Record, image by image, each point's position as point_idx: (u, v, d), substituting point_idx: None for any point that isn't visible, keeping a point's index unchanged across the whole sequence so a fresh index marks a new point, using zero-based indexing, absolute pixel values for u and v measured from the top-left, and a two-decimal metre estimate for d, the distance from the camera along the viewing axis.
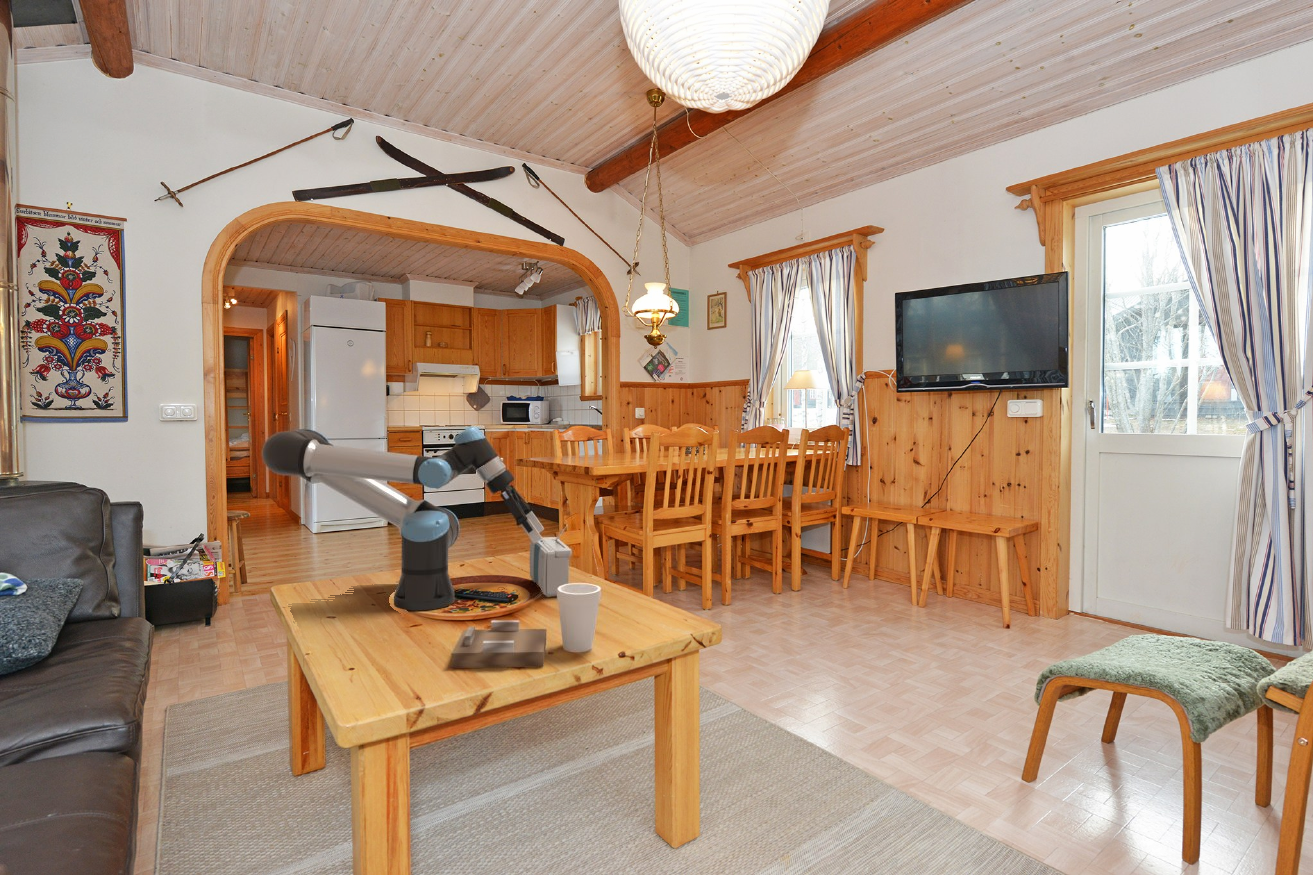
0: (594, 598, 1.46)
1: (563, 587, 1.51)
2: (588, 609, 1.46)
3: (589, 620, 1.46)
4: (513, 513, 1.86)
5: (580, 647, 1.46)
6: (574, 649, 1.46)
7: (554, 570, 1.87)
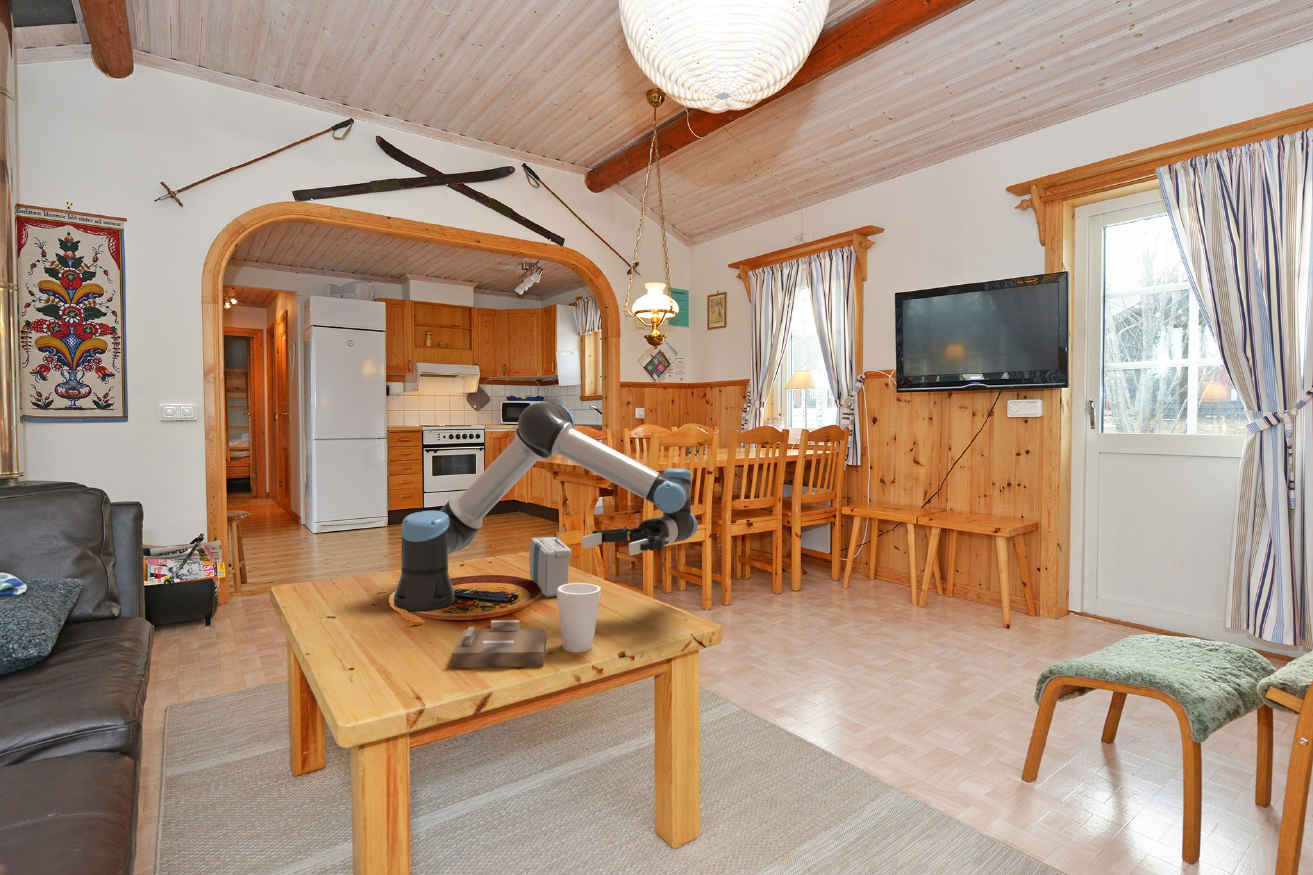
0: (594, 598, 1.46)
1: (563, 587, 1.51)
2: (588, 609, 1.46)
3: (589, 620, 1.46)
4: (663, 539, 1.61)
5: (580, 647, 1.46)
6: (574, 649, 1.46)
7: (554, 570, 1.87)
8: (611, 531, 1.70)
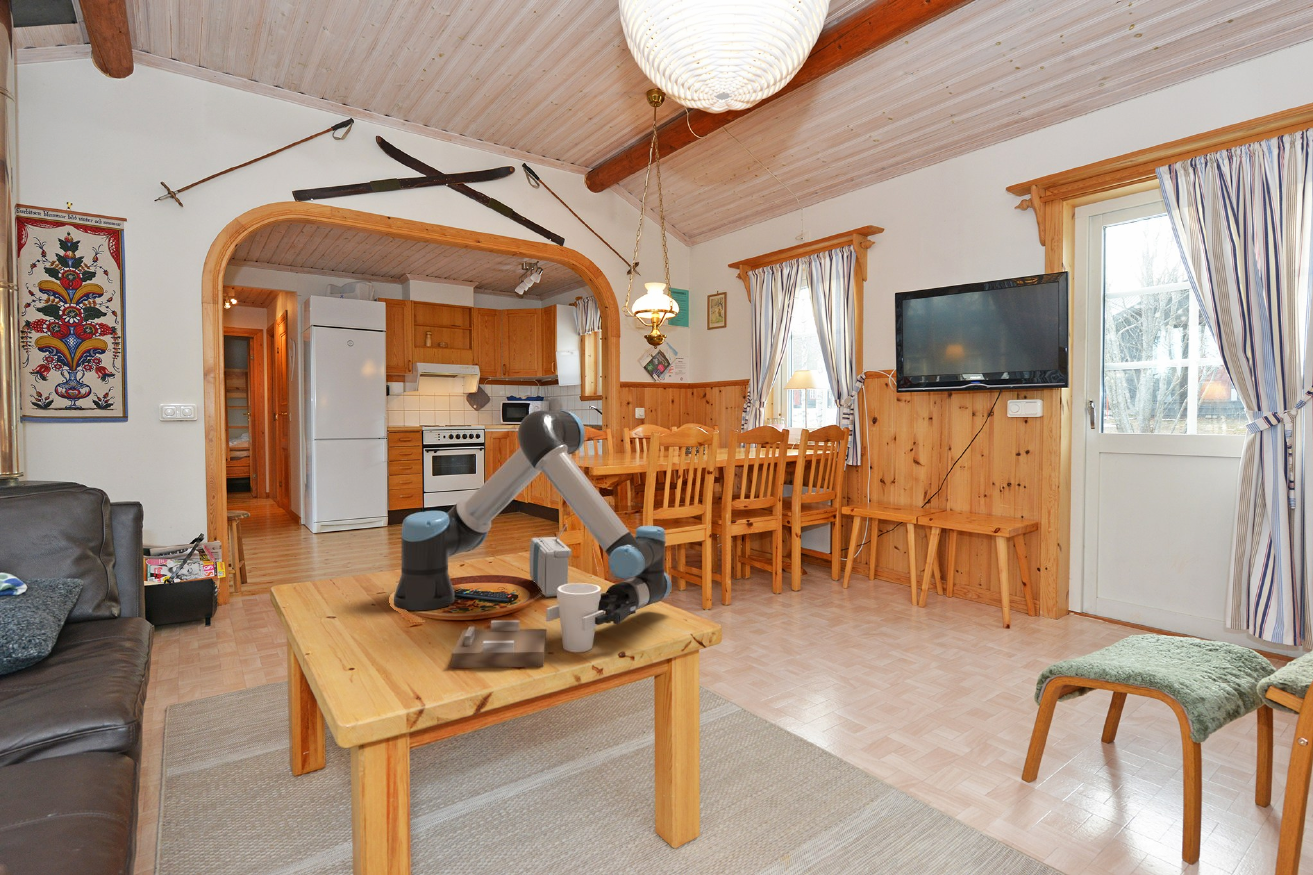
0: (594, 598, 1.46)
1: (563, 587, 1.51)
2: (588, 609, 1.46)
3: None
4: (623, 611, 1.50)
5: (580, 647, 1.46)
6: (574, 649, 1.46)
7: (553, 570, 1.87)
8: None
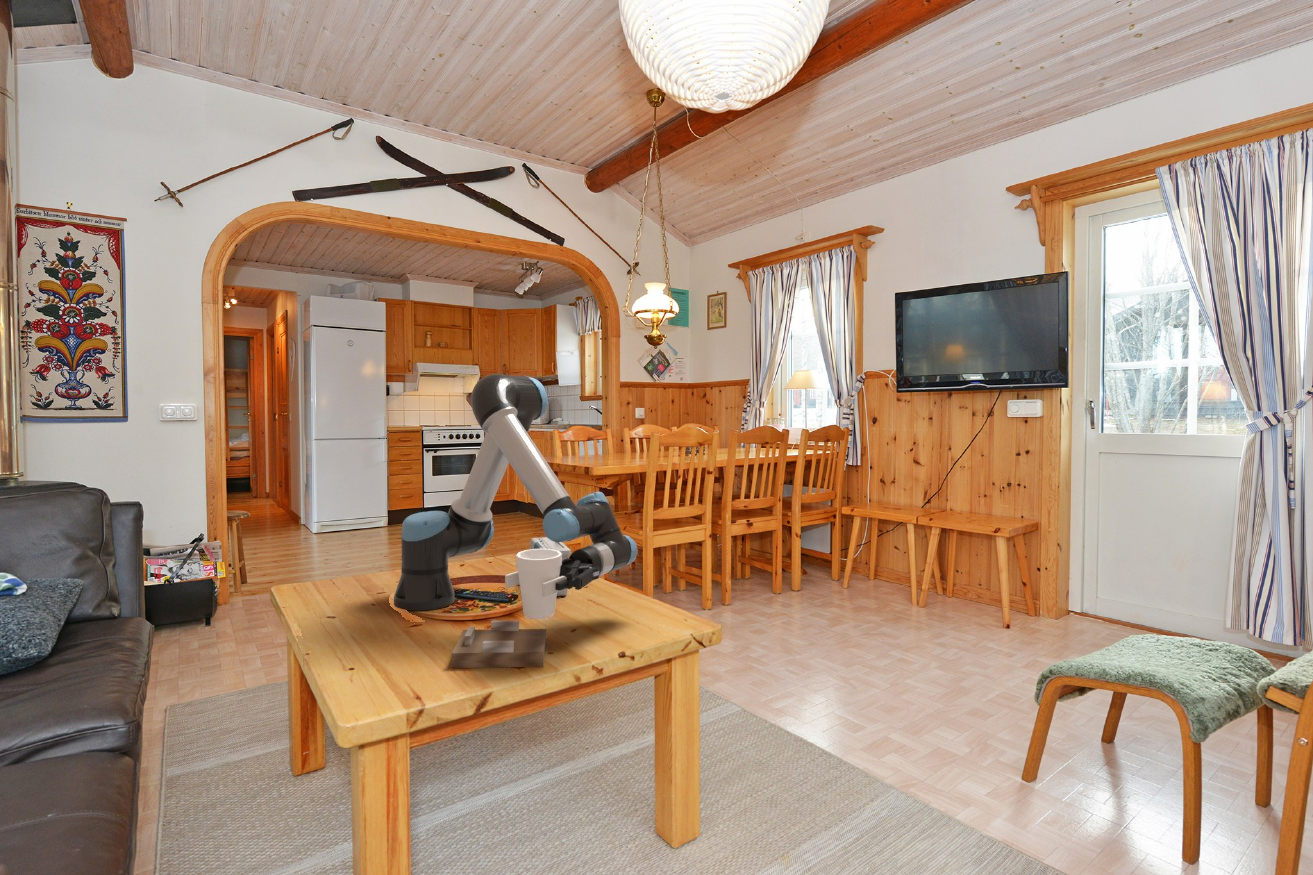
0: (554, 563, 1.41)
1: (523, 553, 1.45)
2: (549, 575, 1.41)
3: None
4: (585, 576, 1.45)
5: (541, 614, 1.42)
6: (535, 616, 1.42)
7: None
8: None
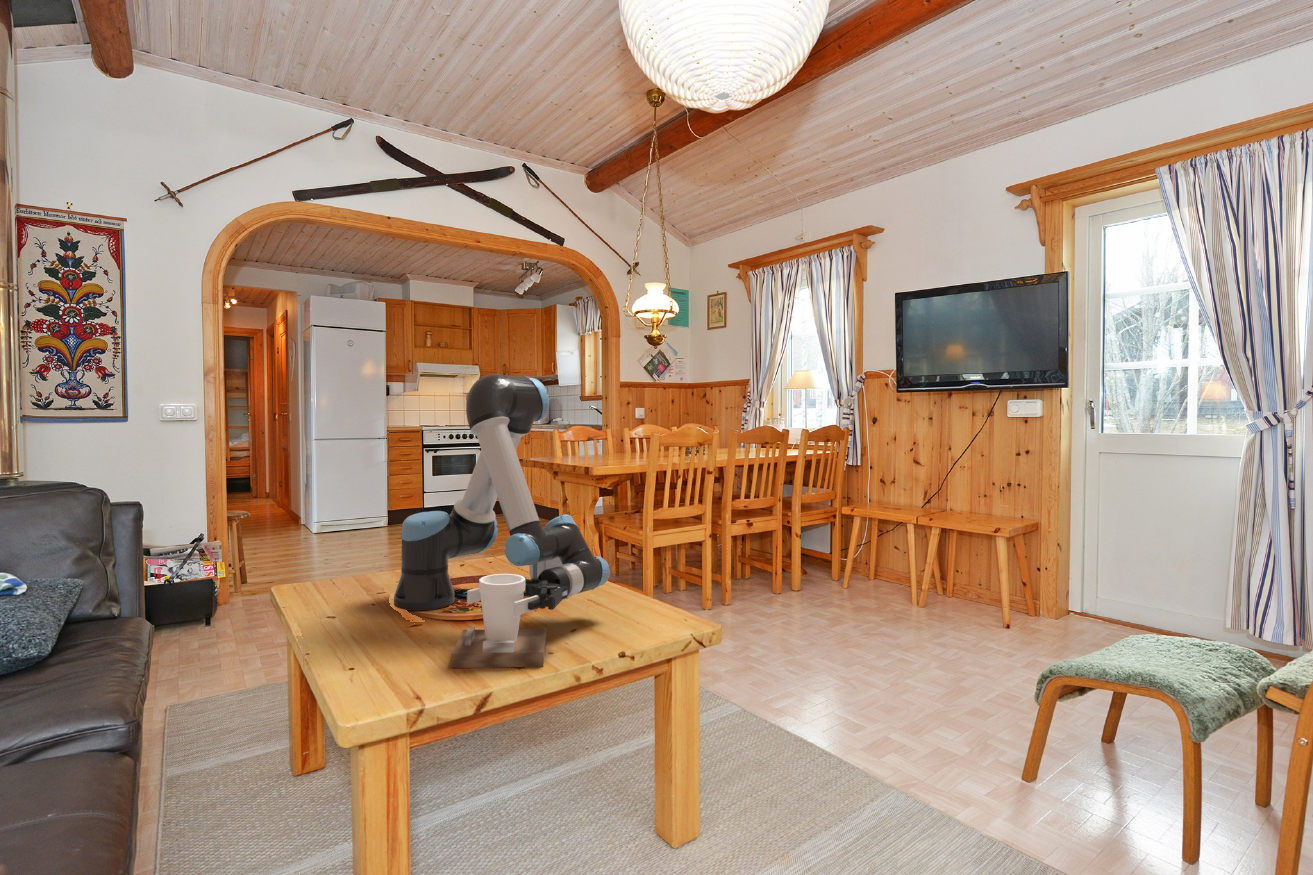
0: (516, 589, 1.40)
1: (487, 578, 1.45)
2: (510, 600, 1.40)
3: (511, 612, 1.41)
4: (557, 596, 1.44)
5: (502, 640, 1.41)
6: None
7: None
8: None
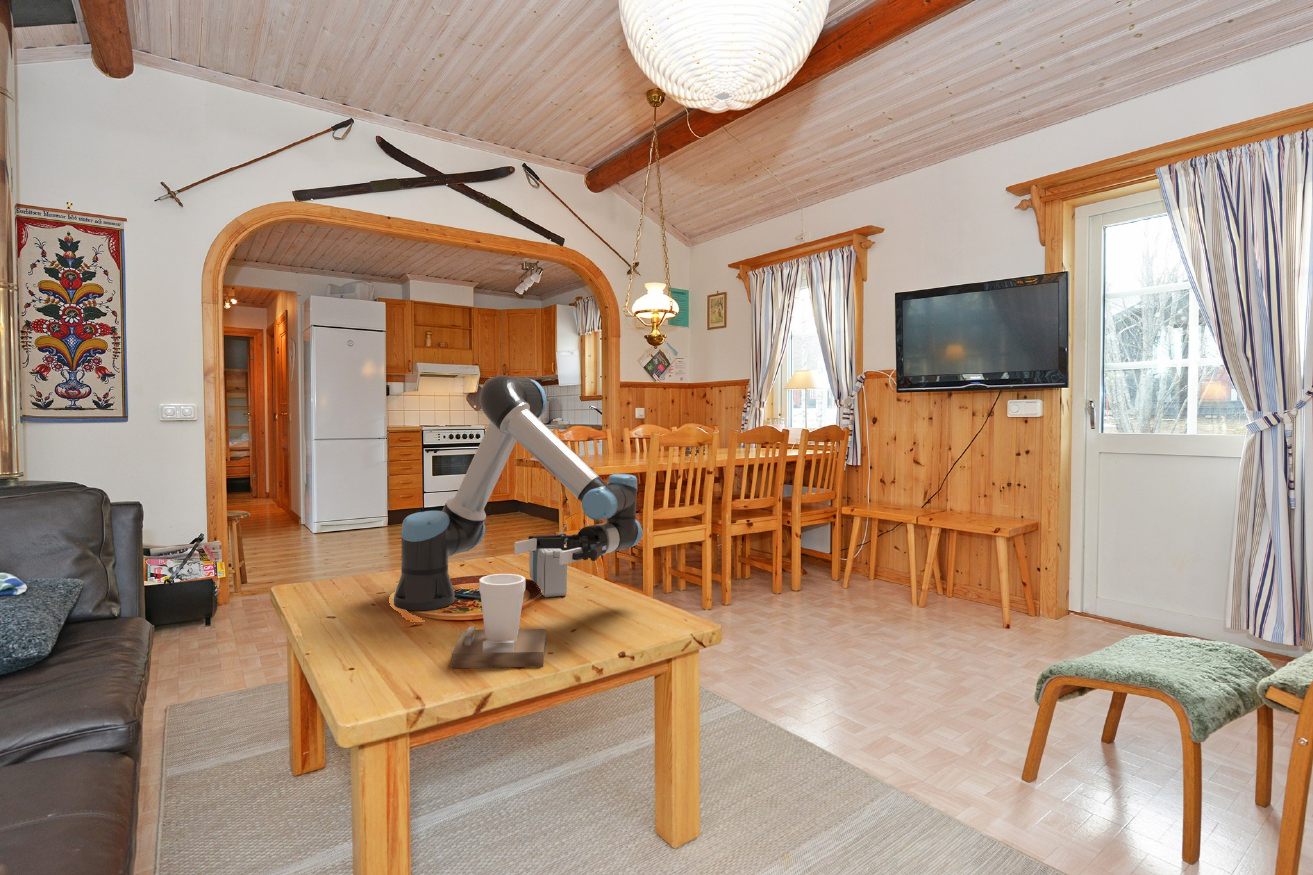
0: (516, 589, 1.40)
1: (487, 578, 1.45)
2: (510, 600, 1.40)
3: (511, 612, 1.41)
4: (598, 549, 1.55)
5: (502, 640, 1.41)
6: None
7: (552, 570, 1.87)
8: (548, 537, 1.64)
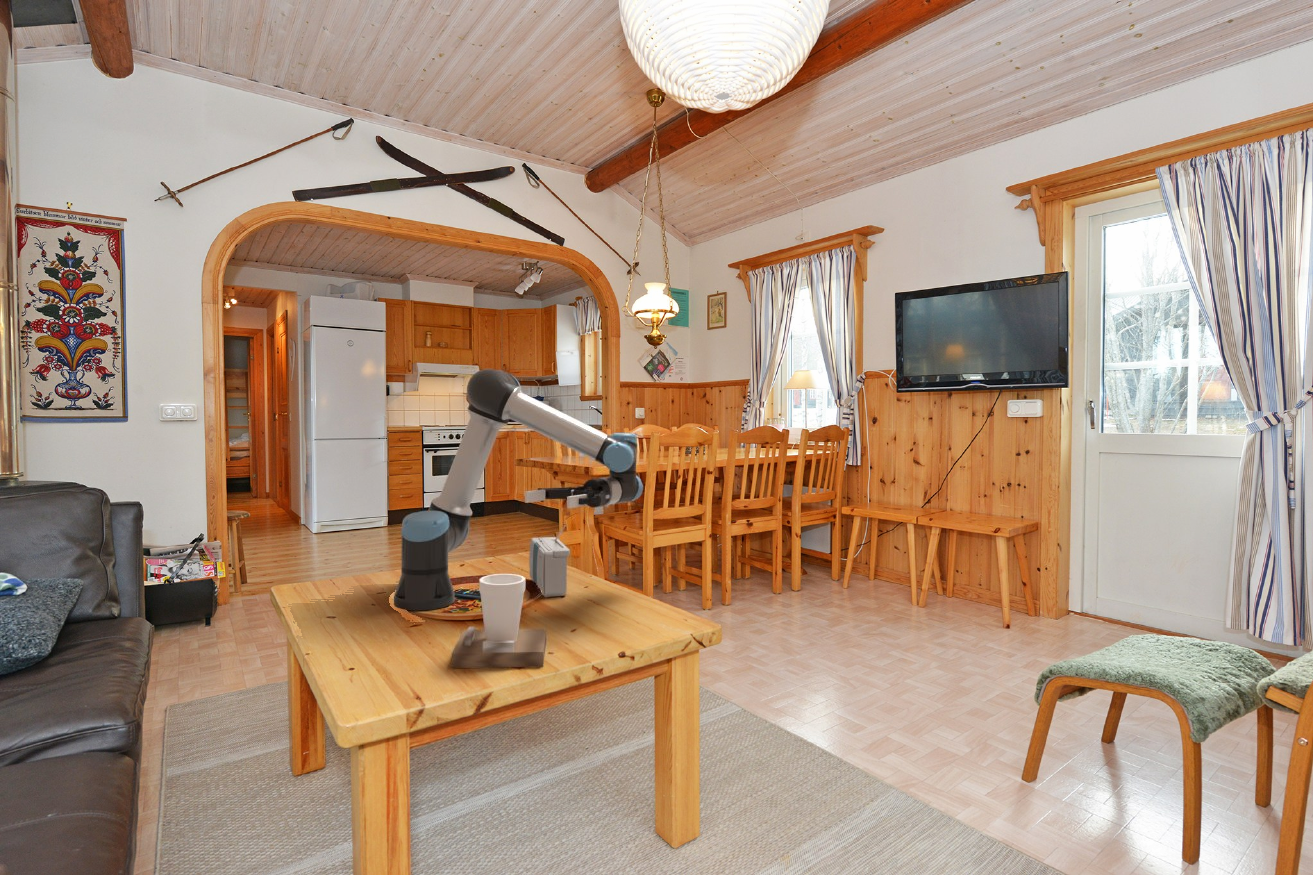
0: (516, 589, 1.40)
1: (487, 578, 1.45)
2: (510, 600, 1.40)
3: (511, 612, 1.41)
4: (602, 496, 1.68)
5: (502, 640, 1.41)
6: None
7: (552, 570, 1.87)
8: (556, 489, 1.78)
